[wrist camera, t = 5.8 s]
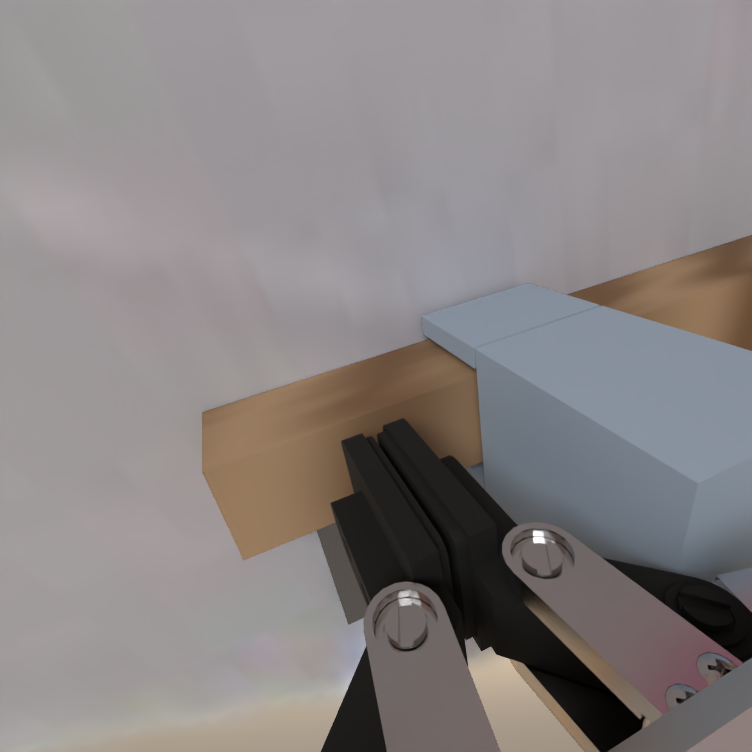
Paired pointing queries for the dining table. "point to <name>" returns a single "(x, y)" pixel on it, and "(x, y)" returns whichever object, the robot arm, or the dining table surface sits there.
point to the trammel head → (610, 427)
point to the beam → (419, 402)
